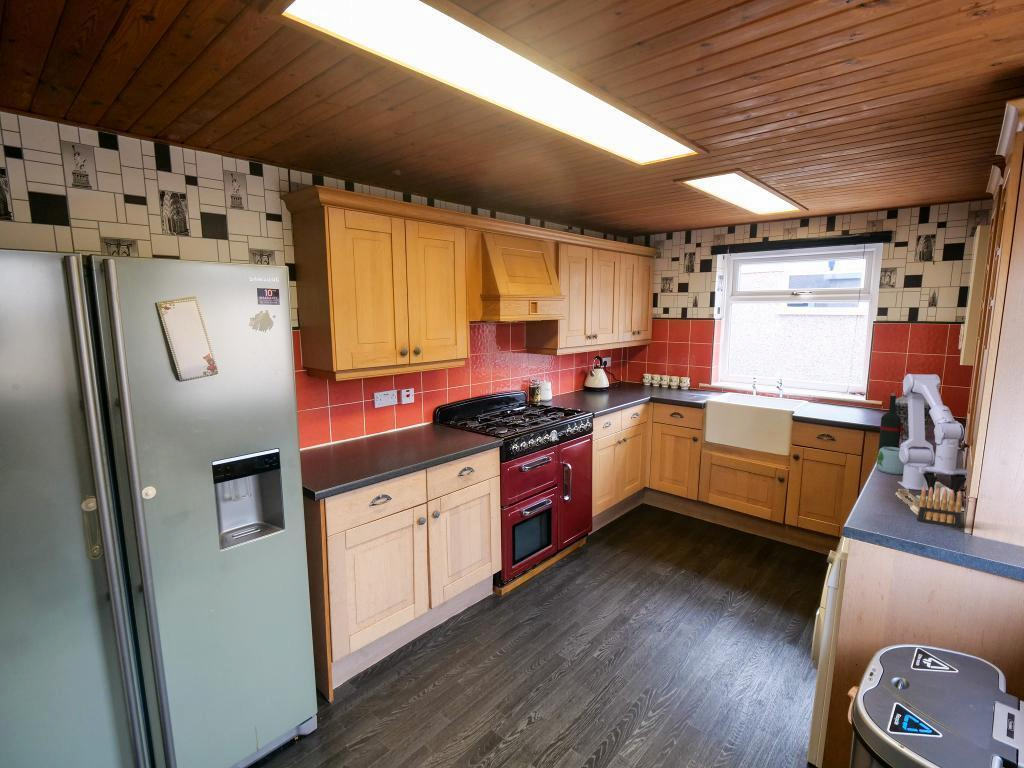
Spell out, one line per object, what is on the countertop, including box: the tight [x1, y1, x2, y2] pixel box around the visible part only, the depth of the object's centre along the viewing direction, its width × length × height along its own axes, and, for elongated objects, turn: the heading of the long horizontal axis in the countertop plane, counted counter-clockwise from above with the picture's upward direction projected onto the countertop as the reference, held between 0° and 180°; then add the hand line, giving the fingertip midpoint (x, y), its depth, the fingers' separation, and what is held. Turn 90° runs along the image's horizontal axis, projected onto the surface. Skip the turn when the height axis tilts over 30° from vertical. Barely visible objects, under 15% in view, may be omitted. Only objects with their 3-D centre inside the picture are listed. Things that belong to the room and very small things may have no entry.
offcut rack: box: [895, 488, 933, 516], centre depth 181 cm, size 6×20×3 cm, turn 163°
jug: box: [895, 389, 940, 440], centre depth 272 cm, size 21×19×30 cm
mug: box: [876, 447, 904, 475], centre depth 220 cm, size 15×11×10 cm
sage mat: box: [915, 494, 964, 511], centre depth 181 cm, size 10×13×1 cm
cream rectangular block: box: [933, 481, 952, 507], centre depth 181 cm, size 2×10×6 cm, turn 163°
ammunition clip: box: [916, 486, 963, 528], centre depth 164 cm, size 11×2×12 cm, turn 58°
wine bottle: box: [877, 392, 904, 455], centre depth 240 cm, size 8×10×30 cm
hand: (942, 494), depth 181 cm, fingers open, 6 cm apart
